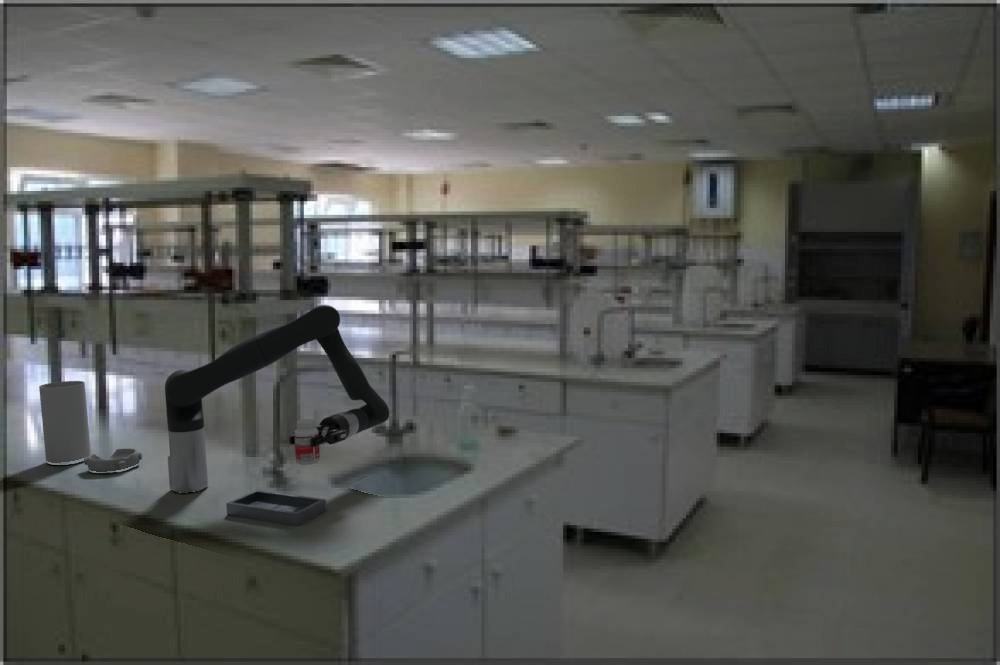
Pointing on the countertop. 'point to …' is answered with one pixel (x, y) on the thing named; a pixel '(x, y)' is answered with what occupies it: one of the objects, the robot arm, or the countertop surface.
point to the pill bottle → (306, 442)
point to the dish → (114, 460)
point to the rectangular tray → (276, 507)
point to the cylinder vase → (65, 421)
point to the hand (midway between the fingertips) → (301, 441)
